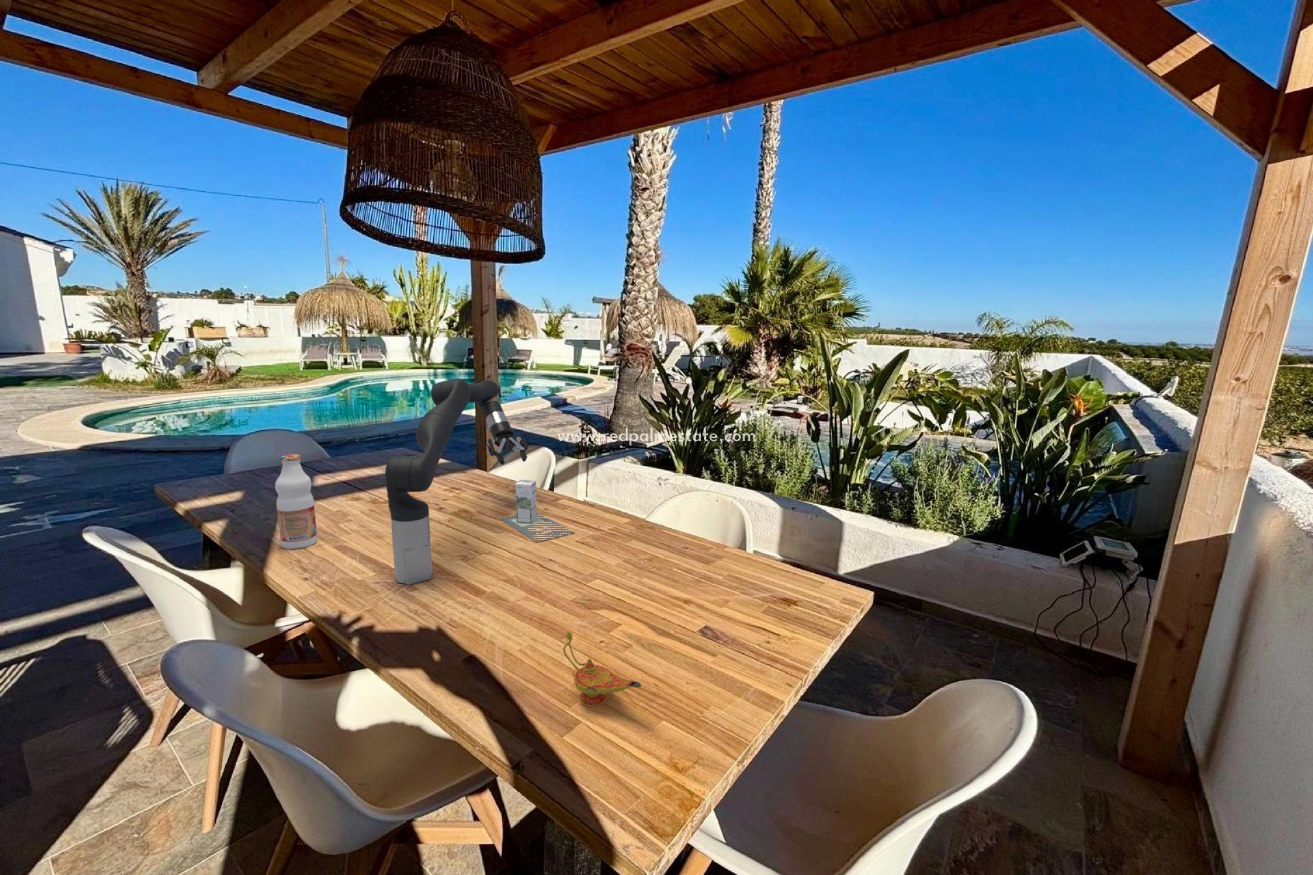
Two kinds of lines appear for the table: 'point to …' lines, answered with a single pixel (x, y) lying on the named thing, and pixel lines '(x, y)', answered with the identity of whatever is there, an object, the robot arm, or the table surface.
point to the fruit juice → (295, 505)
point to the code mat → (524, 527)
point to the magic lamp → (596, 680)
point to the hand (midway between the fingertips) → (514, 462)
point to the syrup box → (526, 501)
